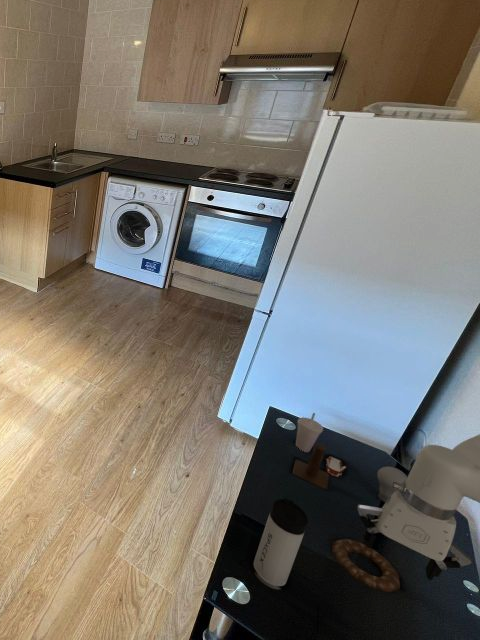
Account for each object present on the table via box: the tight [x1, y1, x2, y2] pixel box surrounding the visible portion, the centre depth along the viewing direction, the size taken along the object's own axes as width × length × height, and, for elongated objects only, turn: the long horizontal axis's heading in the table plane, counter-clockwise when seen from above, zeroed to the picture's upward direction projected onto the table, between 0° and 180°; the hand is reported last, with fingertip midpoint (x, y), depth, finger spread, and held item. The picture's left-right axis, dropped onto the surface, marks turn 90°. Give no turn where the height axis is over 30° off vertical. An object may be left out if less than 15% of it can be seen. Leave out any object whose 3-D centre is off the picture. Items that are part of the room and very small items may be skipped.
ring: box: [331, 538, 401, 593], centre depth 95 cm, size 12×12×3 cm
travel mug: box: [253, 497, 309, 591], centre depth 91 cm, size 6×7×20 cm
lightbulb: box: [377, 466, 408, 503], centre depth 112 cm, size 6×6×11 cm
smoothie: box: [295, 412, 324, 453], centre depth 130 cm, size 6×6×14 cm
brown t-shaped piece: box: [291, 443, 330, 491], centre depth 120 cm, size 8×8×11 cm
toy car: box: [324, 456, 348, 478], centre depth 124 cm, size 5×8×3 cm, turn 134°
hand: (397, 558), depth 91 cm, fingers open, 9 cm apart
